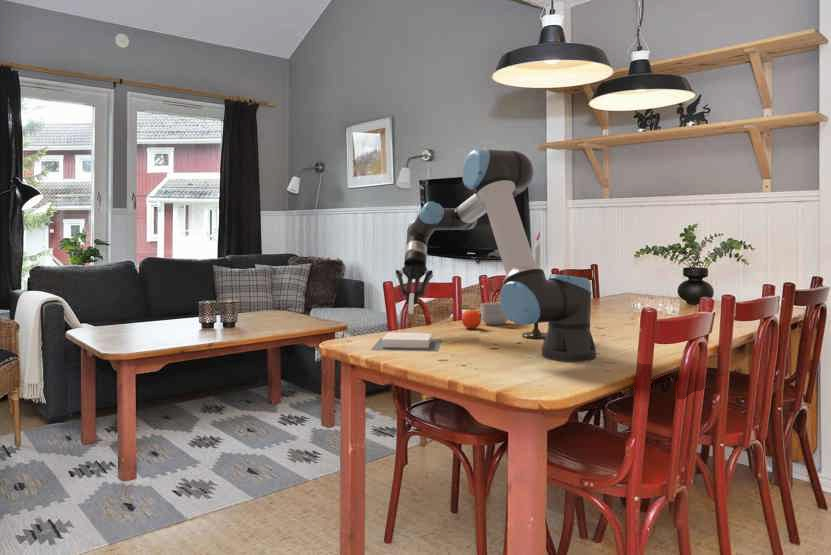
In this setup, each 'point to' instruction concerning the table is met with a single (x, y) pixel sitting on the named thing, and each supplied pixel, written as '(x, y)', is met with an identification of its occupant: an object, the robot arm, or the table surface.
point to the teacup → (492, 313)
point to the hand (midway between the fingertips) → (410, 311)
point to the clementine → (471, 319)
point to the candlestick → (536, 332)
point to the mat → (433, 347)
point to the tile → (407, 340)
